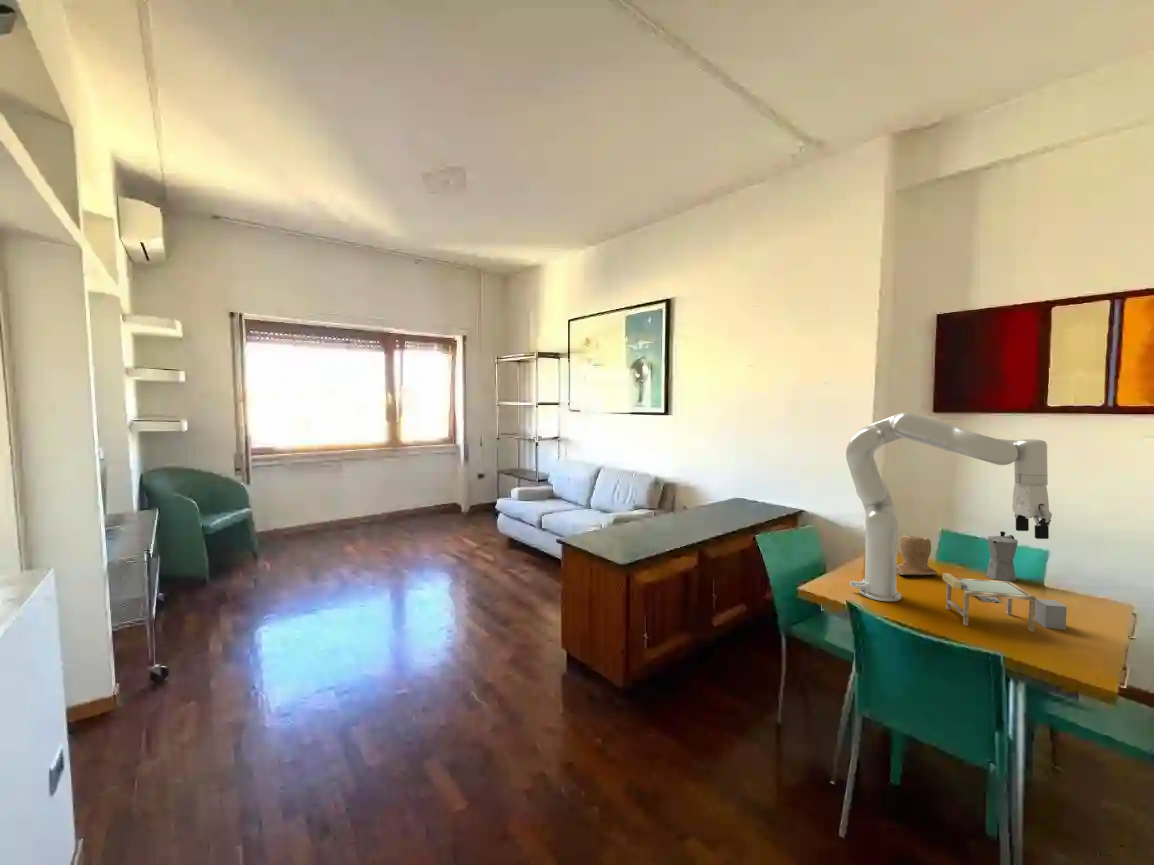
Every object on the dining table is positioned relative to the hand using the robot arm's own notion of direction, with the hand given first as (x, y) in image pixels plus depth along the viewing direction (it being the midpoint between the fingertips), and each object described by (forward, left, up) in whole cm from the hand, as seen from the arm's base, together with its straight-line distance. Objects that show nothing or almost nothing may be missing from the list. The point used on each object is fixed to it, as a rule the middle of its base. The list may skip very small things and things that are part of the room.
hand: (1031, 534), depth 155 cm
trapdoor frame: (-12, -3, -27) cm, 30 cm away
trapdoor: (-14, -3, -17) cm, 23 cm away
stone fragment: (-5, +25, -28) cm, 37 cm away
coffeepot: (+12, +41, -27) cm, 51 cm away
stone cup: (-19, +39, -27) cm, 51 cm away
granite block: (+4, -3, -27) cm, 27 cm away
